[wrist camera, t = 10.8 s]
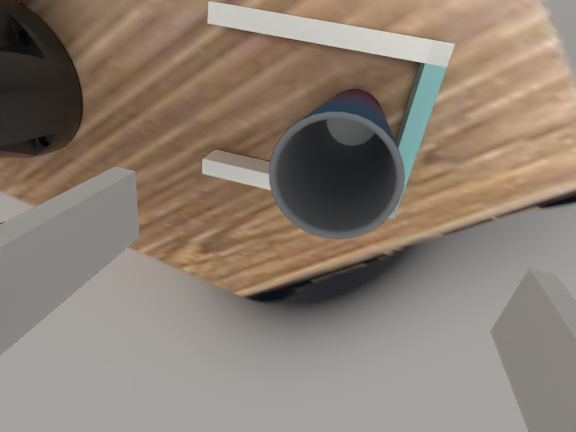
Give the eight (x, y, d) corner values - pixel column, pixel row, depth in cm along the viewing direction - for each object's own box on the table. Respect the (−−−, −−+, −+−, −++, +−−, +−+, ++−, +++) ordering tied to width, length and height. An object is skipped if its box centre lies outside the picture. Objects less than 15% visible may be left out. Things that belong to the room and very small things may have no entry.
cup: (400, 146, 31) (417, 226, 18) (326, 165, 33) (292, 249, 20) (383, 65, 28) (387, 91, 15) (304, 92, 31) (249, 134, 18)
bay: (214, 163, 36) (202, 173, 33) (223, 3, 29) (208, 0, 26) (392, 205, 33) (394, 219, 31) (447, 43, 27) (455, 43, 24)
